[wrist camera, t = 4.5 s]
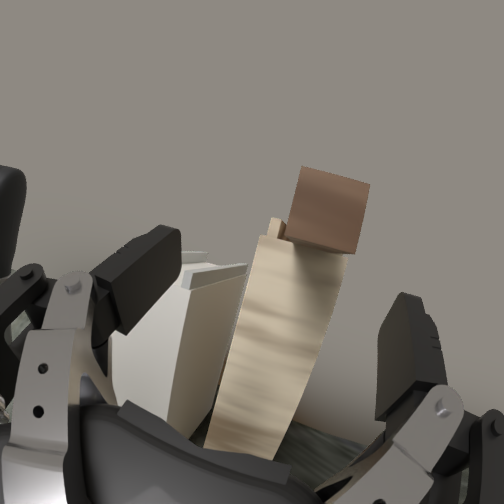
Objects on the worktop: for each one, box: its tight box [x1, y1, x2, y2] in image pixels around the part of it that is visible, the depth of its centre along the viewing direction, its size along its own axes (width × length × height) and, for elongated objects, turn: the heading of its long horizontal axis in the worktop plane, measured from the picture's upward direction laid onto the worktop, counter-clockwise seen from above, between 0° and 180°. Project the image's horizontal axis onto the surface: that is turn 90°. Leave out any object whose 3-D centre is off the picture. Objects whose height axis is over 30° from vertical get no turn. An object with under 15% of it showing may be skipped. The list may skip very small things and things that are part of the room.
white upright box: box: [111, 251, 248, 439], centre depth 34 cm, size 20×8×28 cm, turn 167°
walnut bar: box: [284, 166, 370, 254], centre depth 24 cm, size 28×3×3 cm, turn 169°
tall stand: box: [203, 217, 348, 460], centre depth 31 cm, size 20×7×34 cm, turn 167°
